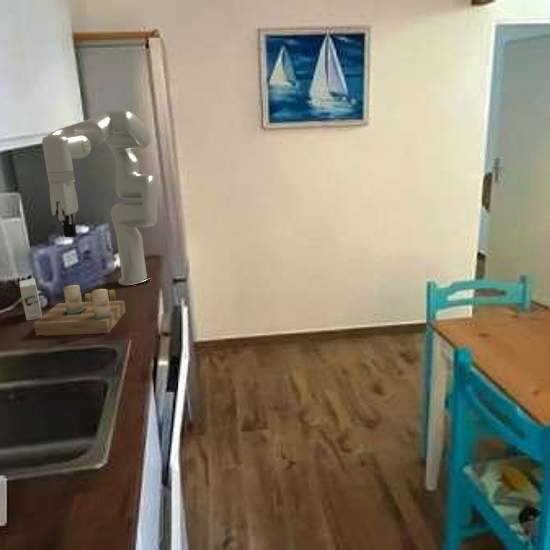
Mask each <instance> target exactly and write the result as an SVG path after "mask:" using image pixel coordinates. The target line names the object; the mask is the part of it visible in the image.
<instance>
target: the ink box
mask: <svg viewBox="0 0 550 550" xmlns="http://www.w3.org/2000/svg"><path fill="white" fill-rule="evenodd" d="M19 289H20V290H19V291H20V295H21V300H22V301H21V302H22V305H23V310H24V314H25V319H26V321H31V320H39V319H40V318H41V317H43V313H42V308H41V304H40V303H41V302H40V298H39V292H38V287H37V284H36V279H35V278H28V279H24V280H19Z"/></svg>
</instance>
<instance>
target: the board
mask: <svg viewBox="0 0 550 550" xmlns="http://www.w3.org/2000/svg"><path fill="white" fill-rule="evenodd" d="M90 293H91V297H92V302H86V301H82V305H83V312H82V314H81V315H69V314H68V313H67V308H66V302H58V303H56V304H55V305H54V307H52V308H51V309H49V310H48V311H47V312H46V313H45V314H44V315H42V317H41V318H38V319H37V320H36V321H35V322H34V323H33V324H34V325H33V326H34V331H35V336H36V337H39V336H38V335H45V336H63V335H64V336H65V335H66V336H69V335H87V334H88V335H91V334H92V335H93V334H94V335H95V334H110V332H111V330H112V329H113V328H114V327H115V326H116V324H117V323H118V322H119V320H121V318H122V317H123V316H124V314H125V313H126V306H125V301H124V300H116V301H109V298H108V289H106V288H102V289H97V290H95V289H94V290H92V291H91V292H90Z"/></svg>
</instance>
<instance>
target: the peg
mask: <svg viewBox="0 0 550 550" xmlns="http://www.w3.org/2000/svg"><path fill="white" fill-rule="evenodd" d="M62 290H63V295H64V300H65V301H64V303H66V308H67V313H68V314H69V315H81V314H82V312H83V305H82V302H83V299H82V292H81V287H80V285H76V284H73V285H66V286H64V287H63V289H62Z"/></svg>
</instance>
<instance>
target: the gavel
mask: <svg viewBox="0 0 550 550" xmlns="http://www.w3.org/2000/svg"><path fill="white" fill-rule="evenodd" d="M97 289H103V287H102V286H101V285H96V286H95V288H94V290H97ZM107 291H108V298H109V301H117V300H116V292H115V291H116V290H115V289H109V290H108V289H107ZM84 299H85V300H84V302H92V297H91V292H88V293H84Z"/></svg>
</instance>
